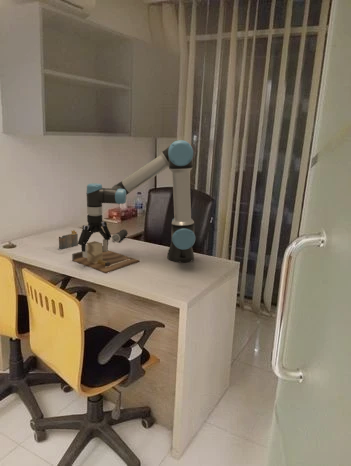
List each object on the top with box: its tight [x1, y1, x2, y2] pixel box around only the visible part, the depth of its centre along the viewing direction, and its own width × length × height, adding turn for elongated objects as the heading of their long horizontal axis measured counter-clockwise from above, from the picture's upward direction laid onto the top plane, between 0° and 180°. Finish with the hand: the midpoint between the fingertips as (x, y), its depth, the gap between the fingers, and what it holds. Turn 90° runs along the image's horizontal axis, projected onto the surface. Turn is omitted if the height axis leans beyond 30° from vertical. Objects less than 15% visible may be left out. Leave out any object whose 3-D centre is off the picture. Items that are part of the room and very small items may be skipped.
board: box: [71, 245, 141, 274], centre depth 194 cm, size 26×24×4 cm
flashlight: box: [111, 228, 129, 243], centre depth 236 cm, size 15×5×5 cm, turn 167°
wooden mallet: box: [86, 240, 110, 266], centre depth 187 cm, size 13×5×10 cm, turn 53°
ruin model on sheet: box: [58, 229, 79, 250], centre depth 214 cm, size 11×3×10 cm, turn 143°
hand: (95, 254), depth 189 cm, fingers open, 13 cm apart
